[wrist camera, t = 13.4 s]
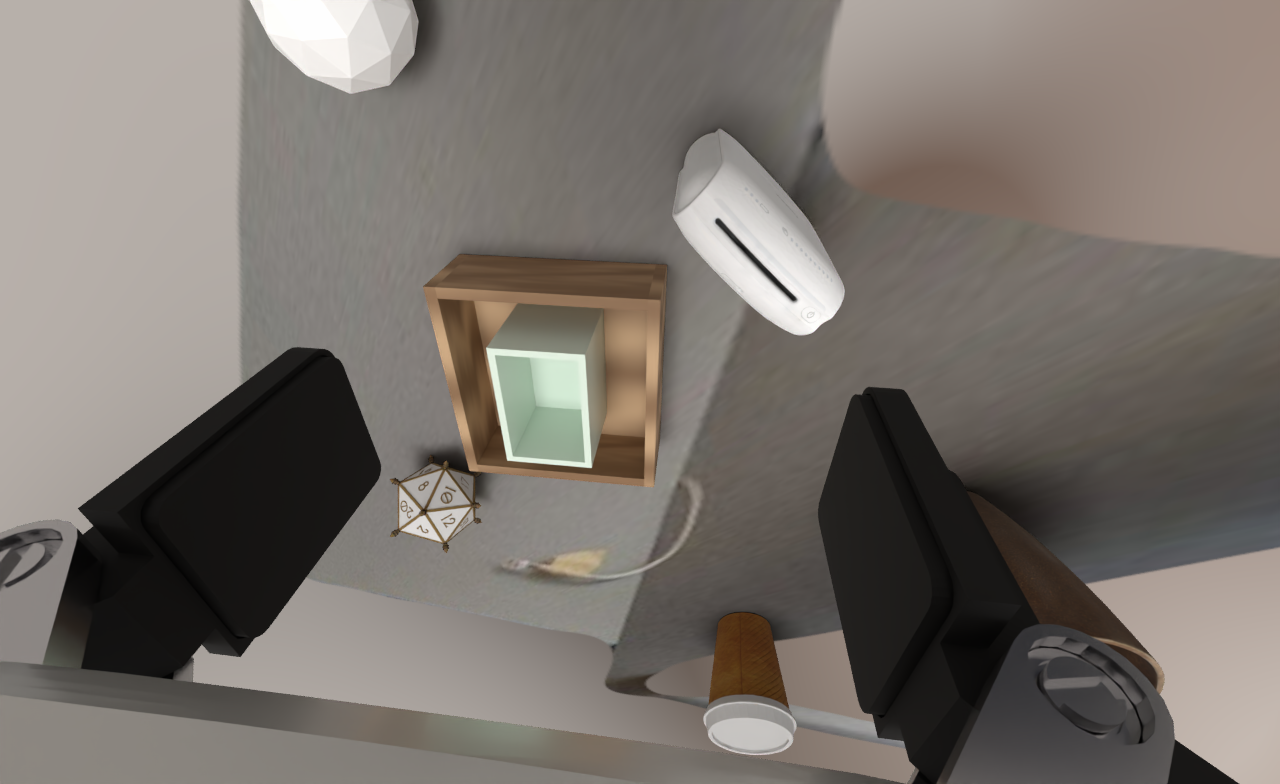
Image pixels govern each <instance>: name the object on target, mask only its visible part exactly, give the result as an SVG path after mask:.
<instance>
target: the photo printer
mask: <svg viewBox="0 0 1280 784" xmlns="http://www.w3.org/2000/svg"><path fill="white" fill-rule="evenodd" d="M672 216H673V218H674V220H675V222H676V223H677V225H678V227H679V228H680V230H681V232H682V234H683V235H684V237H685V238H686V239H687V240H688V242H689V243H690V244H691V245H692V246H693V248H694V249H695V250H696V251H697V252H698V253H699V254H700V256H701V257H702V258H703V259H704V260H705V261H706V262H707V263H708V264H709V265H710V266H711V267H712V269H713V270H714V271H715V272H716V273H717V274H718V275H719V276H720V277H721V278H722V279H723V280H724V281H725V282H726V283H727V284H728V285H729V286H730V287H731V288H732V289H733V290H735V291H736V292H737V293H738V294H739V295H740V296H741V297H742V298H743V299H744V300H745V301H746V302H747V303H748V304H750V305H751V306H752V307H753V308H754V309H755V310H756V311H758V312H759V313H760V314H761V315H762V316H764V317H765V318H766V319H768V320H770V321H771V322H773V323H774V324H776V325H777V326H779V327H780V328H782V329H784V330H786V331H788V332H790V333H792V334H795V335H806V334H810V333H813V332H814V331H815V330H816V329H817V328H818V327H819V326H820V325H821V324H822V323H824V322H825V321H827V320H829V319H831V318H832V317H833V316H834V315H835V313H836V312H837V310H838V309H839V307H840V305H841V303H842V301H843V299H844V294H845V289H844V285H843V283H842V281H841V279H840V277H839V275H838V273H837V271H836V269H835V267H834V265H833V263H832V262H831V260H830V258H829V256H828V254H827V252H826V250H825V248H824V247H823V245H822V243H821V241H820V239H819V237H818V236H817V234H816V232H815V230H814V228H813V227H812V225H811V223H810V222H809V220H808V219H807V218H806V216H805V215H804V214H803V213H802V211H801V210H800V209H799V208H798V206H797V205H796V204H795V203H794V202H793V201H792V199H791V198H790V197H789V196H788V195H787V193H786V192H785V191H784V190H783V189H782V188H781V187H780V186H779V184H778V183H777V182H776V181H775V180H774V179H773V178H772V177H771V176H770V175H769V173H768V172H767V171H766V170H765V169H764V168H763V167H762V166H761V165H760V164H759V163H758V162H757V161H756V160H755V159H754V158H753V157H752V156H751V155H750V154H749V153H748V151H747V150H746V149H745V148H744V147H743V146H742V145H741V144H740V143H739V142H737V141H736V140H735V139H734V138H733V137H731V136H730V135H729V134H728V133H726V132H725V131H723V130H722V129H718V130H717V131H716V132H715V133H710V134H706V135H704V136H702V137H701V138H699V139H698V140H696V141H695V142H694V143H693V144H692V146H691V147H690V148H689V150H688V152H687V154H686V157H685V162H684V168H683V169H682V170H680V172H679V176H678V184H677V190H676V195H675V201H674V207H673V213H672Z"/></svg>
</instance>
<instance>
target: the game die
mask: <svg viewBox="0 0 1280 784" xmlns="http://www.w3.org/2000/svg"><path fill="white" fill-rule="evenodd" d="M428 460H429V461H428V462H430V464H429V465H427V466H425V467H424V468H422V469H420V470H419V471H417V472H415V473H414V474H412V475H410V476H409V477H407V478H406V479H404V480H402V481H401V482H400V481H398V479H396V478H395V479H390V480H391V482H392V484H393V483H394V484H395V485H396V484H397V485H398V529H397V530H394V531H393V532H392V533H391V535H390V537H394V536H395V537H396V535H398V533H399V532H403V533H406V534H410V535H413V536H417V537H420V538H424V539H427V540H431V541H434V542H438V543H441V544H443V550H444V551H445V552H446V553H447V551H448V549H449V547H448V546H449V545H448V544H447V542H448V541H450V540H451V539H452V538H453V537H454V536H456V535H457V534H458V533H459V532H460V531H462V530H463V529H464V528H465V527H466V526H468V525H469V524H470V523H471V522H472V521H474V522H475V523H477V524H478V523H482V522H481V519H479V518H475V508H479V507H480V506H481V505H480V504H479V503H475V477H477V476H479V475H480V474H481V472H477V471H476V472H475V473H474V474H469V473H466V472H463V471H459V470H456V469H453V468H449V467H448V465H449V463H448V462H447V460H446V461H445V462H443V465H439V464H436V463H434V457H432V456H431V455H430V457H429V459H428Z"/></svg>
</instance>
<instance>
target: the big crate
mask: <svg viewBox="0 0 1280 784" xmlns="http://www.w3.org/2000/svg"><path fill="white" fill-rule="evenodd" d="M666 279H667V265H661V264H642V263H622V262H602V261H583V260H563V259H544V258H524V257H505V256H485V255H466V254H459V255H458V256H457V257H456V258H455V259H454V260H452V261H451V262H450V263H449V264H448V265H447V266H446V267H445V268H444V269H442V270H441V271H440V272H439V273H438V274H437V275H436V276H435V277H433V278H432V279H431V280H430V281H429V282H428V283H427V284H426V285H424V286H423V288H424V292H425V296H426V300H427V304H428V308H429V312H430V316H431V320H432V324H433V328H434V332H435V336H436V340H437V344H438V348H439V352H440V356H441V360H442V364H443V368H444V372H445V376H446V380H447V384H448V388H449V391H450V395H451V399H452V403H453V407H454V411H455V415H456V419H457V423H458V427H459V431H460V435H461V439H462V443H463V447H464V451H465V455H466V459H467V463H468V467H469V471H477V472H488V473H499V474H510V475H522V476H533V477H544V478H555V479H566V480H578V481H589V482H600V483H611V484H623V485H634V486H645V487H654V482H655V474H656V466H657V458H658V450H659V442H660V423H661V399H662V375H663V351H664V327H665V303H666ZM518 303H520V304H537V305H554V306H571V307H588V308H604V336H605V366H606V395H607V414H606V418H605V422H604V425H603V429H602V433H601V436H600V440H599V444H598V447H597V451H596V455H595V458H594V462H593V466H592V468H586V467H574V466H563V465H551V464H540V463H529V462H517V461H507V456H506V451H505V446H504V440H503V435H502V430H501V424H500V419H499V414H498V409H497V403H496V398H495V393H494V387H493V382H492V377H491V371H490V366H489V361H488V355H487V350H486V348H487V346H488V345H489V343H490V342H491V340H492V339H493V338H494V336H495V335H496V333H497V332H498V331H499V329H500V328H501V326H502V325H503V324H504V322H505V321H506V319H507V318H508V316H509V315H510V314H511V312H512V311H513V309H514V308H515V307H516V305H517V304H518Z"/></svg>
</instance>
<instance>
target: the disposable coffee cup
mask: <svg viewBox="0 0 1280 784" xmlns="http://www.w3.org/2000/svg"><path fill="white" fill-rule="evenodd" d="M704 724H705V726H706V727H707V730H708V735H709V738H710V739H711V740H712V742H713V743H715V744H716V745H718V746H720V747H722V748H724V749H726V750H729V751H733V752H736V753H741V754H748V755H764V754H772V753H777V752H780V751H783V750H785V749H787V748H788V747H789V746H790V745H791V744H792V742H793V735H794V732H795V730H796V721H795V719H794V717H793V716H792V712H791V711H790V710H789V705H788V702H787V697H786V693H785V689H784V685H783V680H782V675H781V672H780V667H779V663H778V658H777V654H776V650H775V645H774V641H773V637H772V632H771V627H770V624H769V622H768V621H767V620H766V619H764V618H763V617H761V616H759V615H756V614H752V613H743V612H741V613H733V614H729V615H727V616H725V617H723V618H722V619H721V620H720V621H719V623H718V630H717V638H716V646H715V654H714V664H713V671H712V680H711V688H710V697H709V705H708V707H707V709H706V712H705V714H704Z"/></svg>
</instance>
